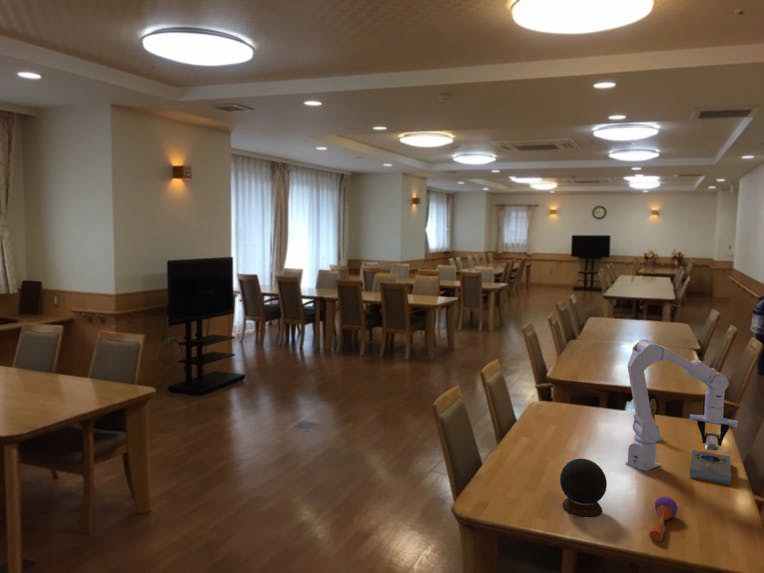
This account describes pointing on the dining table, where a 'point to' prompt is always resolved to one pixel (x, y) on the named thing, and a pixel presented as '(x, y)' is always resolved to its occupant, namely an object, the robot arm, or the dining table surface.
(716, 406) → the robot arm
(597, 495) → the black ball on stand
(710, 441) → the bushing
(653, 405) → the hand bell
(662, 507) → the kendama
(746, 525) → the dining table surface
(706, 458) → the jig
